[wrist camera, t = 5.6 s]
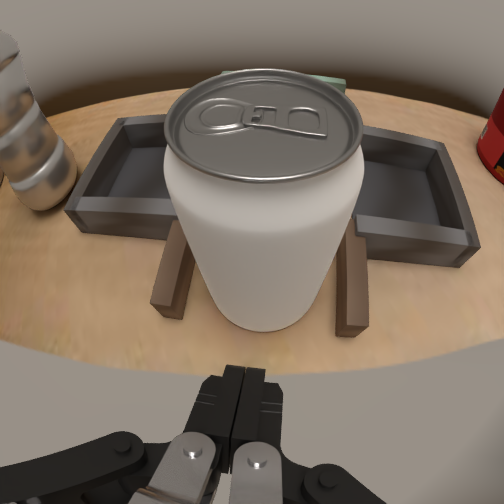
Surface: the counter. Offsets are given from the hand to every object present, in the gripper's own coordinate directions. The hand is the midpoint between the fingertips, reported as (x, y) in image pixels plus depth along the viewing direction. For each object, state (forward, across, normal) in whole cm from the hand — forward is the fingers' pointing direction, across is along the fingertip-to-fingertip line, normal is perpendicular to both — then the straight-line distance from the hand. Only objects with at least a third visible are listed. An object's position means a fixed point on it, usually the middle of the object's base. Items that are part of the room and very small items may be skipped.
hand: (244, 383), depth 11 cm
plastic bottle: (+13, +20, -6) cm, 24 cm away
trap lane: (+13, 0, -6) cm, 15 cm away
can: (+8, 0, -1) cm, 8 cm away
